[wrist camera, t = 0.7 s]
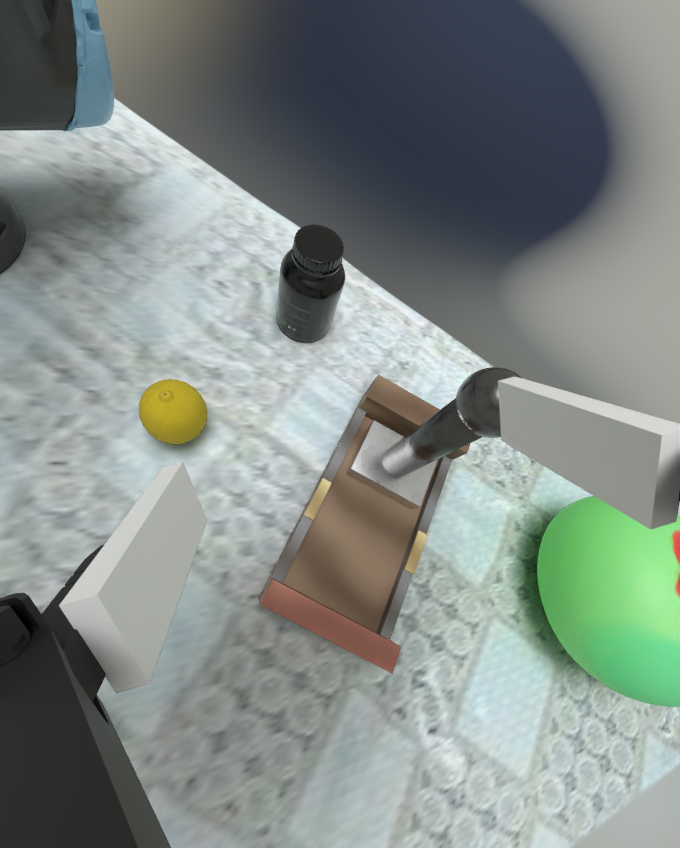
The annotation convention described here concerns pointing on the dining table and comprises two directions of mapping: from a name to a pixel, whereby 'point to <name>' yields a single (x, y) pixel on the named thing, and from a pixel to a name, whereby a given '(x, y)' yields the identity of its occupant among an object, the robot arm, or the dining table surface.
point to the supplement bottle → (310, 283)
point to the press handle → (429, 440)
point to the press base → (357, 540)
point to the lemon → (172, 411)
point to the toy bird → (615, 598)
